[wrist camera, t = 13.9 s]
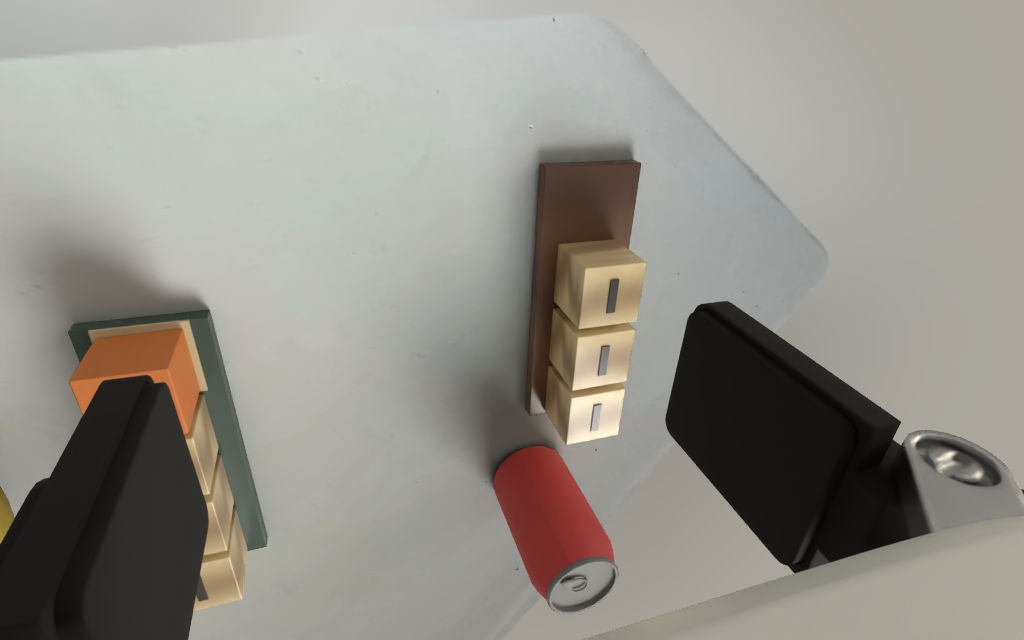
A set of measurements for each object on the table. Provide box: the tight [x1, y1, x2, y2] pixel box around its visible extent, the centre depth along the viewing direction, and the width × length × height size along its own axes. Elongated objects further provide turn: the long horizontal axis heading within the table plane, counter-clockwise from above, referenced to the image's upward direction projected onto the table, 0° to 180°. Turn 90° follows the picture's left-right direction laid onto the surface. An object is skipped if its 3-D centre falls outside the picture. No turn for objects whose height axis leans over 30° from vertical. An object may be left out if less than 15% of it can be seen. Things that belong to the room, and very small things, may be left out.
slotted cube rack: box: [68, 310, 267, 611], centre depth 35 cm, size 20×7×6 cm, turn 178°
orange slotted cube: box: [69, 329, 200, 434], centre depth 31 cm, size 4×4×4 cm
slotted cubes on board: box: [525, 160, 646, 445], centre depth 39 cm, size 20×7×6 cm, turn 178°
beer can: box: [493, 446, 619, 614], centre depth 44 cm, size 7×7×12 cm
